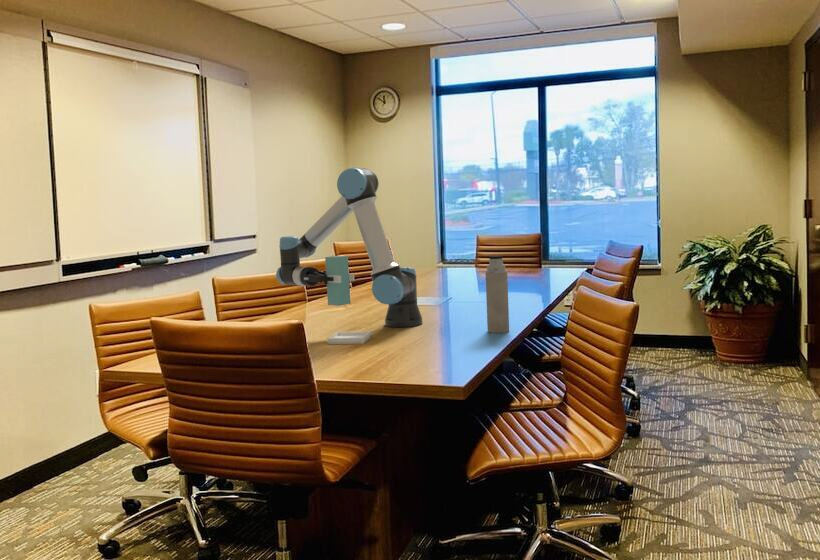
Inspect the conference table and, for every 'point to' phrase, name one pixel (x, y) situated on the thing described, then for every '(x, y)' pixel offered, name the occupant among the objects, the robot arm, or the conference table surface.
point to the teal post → (338, 291)
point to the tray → (350, 337)
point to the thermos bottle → (497, 296)
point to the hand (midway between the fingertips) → (347, 278)
